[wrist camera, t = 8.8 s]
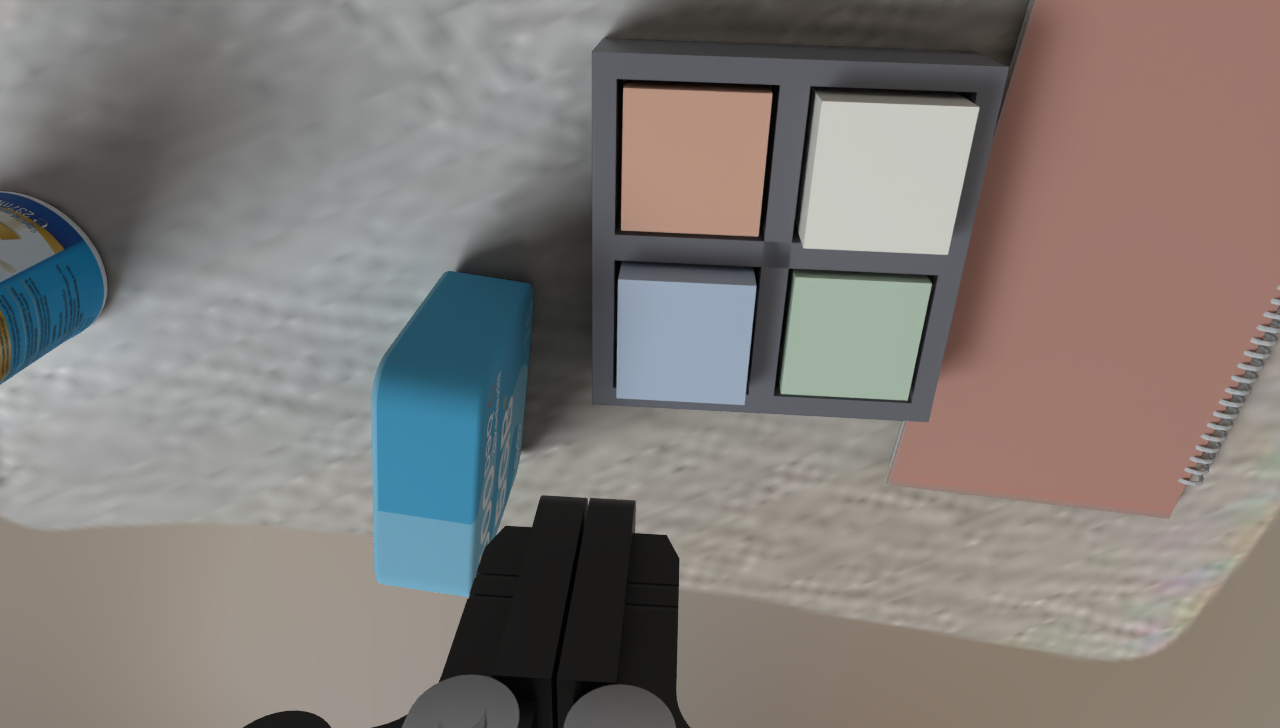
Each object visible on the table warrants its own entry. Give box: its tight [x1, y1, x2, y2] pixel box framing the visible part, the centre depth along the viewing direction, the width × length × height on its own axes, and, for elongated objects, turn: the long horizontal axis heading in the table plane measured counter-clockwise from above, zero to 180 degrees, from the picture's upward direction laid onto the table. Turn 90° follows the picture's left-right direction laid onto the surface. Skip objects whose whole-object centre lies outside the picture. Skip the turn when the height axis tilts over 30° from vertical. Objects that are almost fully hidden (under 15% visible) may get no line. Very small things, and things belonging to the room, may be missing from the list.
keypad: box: [592, 38, 1009, 422], centre depth 38 cm, size 16×16×4 cm
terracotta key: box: [621, 79, 773, 237], centre depth 36 cm, size 6×6×4 cm
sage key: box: [777, 268, 932, 401], centre depth 39 cm, size 6×6×4 cm
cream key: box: [795, 86, 980, 255], centre depth 35 cm, size 6×6×4 cm
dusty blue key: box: [616, 261, 756, 405], centre depth 39 cm, size 6×6×4 cm
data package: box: [371, 271, 534, 597], centre depth 40 cm, size 12×4×12 cm, turn 172°
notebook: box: [886, 0, 1280, 519], centre depth 40 cm, size 27×17×2 cm, turn 174°
